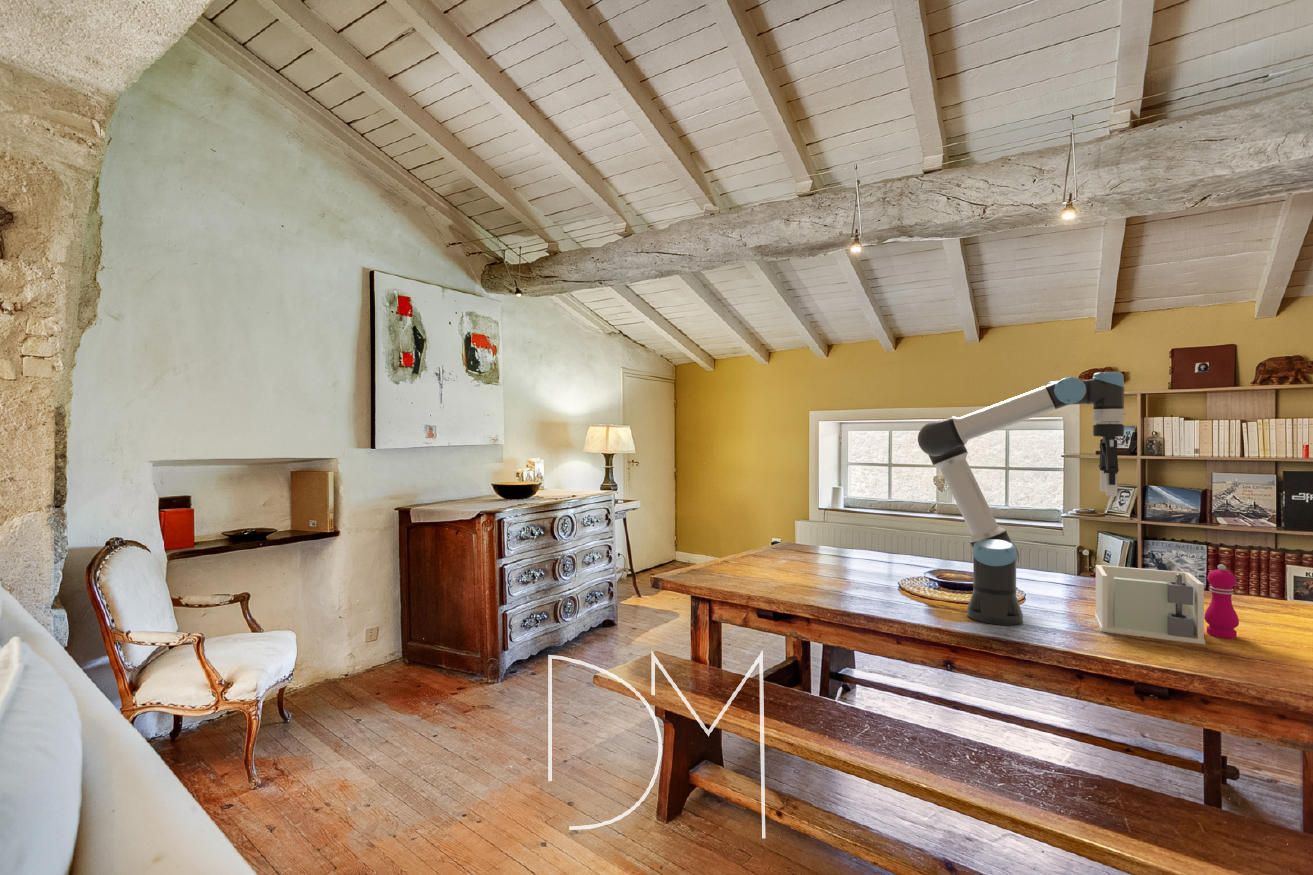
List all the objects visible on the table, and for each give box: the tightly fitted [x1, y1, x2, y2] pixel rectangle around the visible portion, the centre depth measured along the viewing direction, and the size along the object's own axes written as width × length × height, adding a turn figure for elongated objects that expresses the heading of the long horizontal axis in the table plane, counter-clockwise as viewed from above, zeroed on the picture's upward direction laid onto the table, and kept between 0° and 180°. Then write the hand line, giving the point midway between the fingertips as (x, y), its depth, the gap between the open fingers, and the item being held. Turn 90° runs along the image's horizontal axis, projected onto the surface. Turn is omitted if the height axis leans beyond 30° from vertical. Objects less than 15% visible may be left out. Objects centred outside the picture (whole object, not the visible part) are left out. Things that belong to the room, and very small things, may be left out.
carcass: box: [1094, 564, 1206, 645], centre depth 180 cm, size 23×16×16 cm
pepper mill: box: [1204, 563, 1240, 640], centre depth 175 cm, size 7×7×20 cm
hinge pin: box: [1176, 574, 1182, 618], centre depth 173 cm, size 1×1×17 cm
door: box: [1113, 577, 1193, 638], centre depth 176 cm, size 17×5×14 cm, turn 60°
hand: (1108, 493), depth 188 cm, fingers open, 13 cm apart
